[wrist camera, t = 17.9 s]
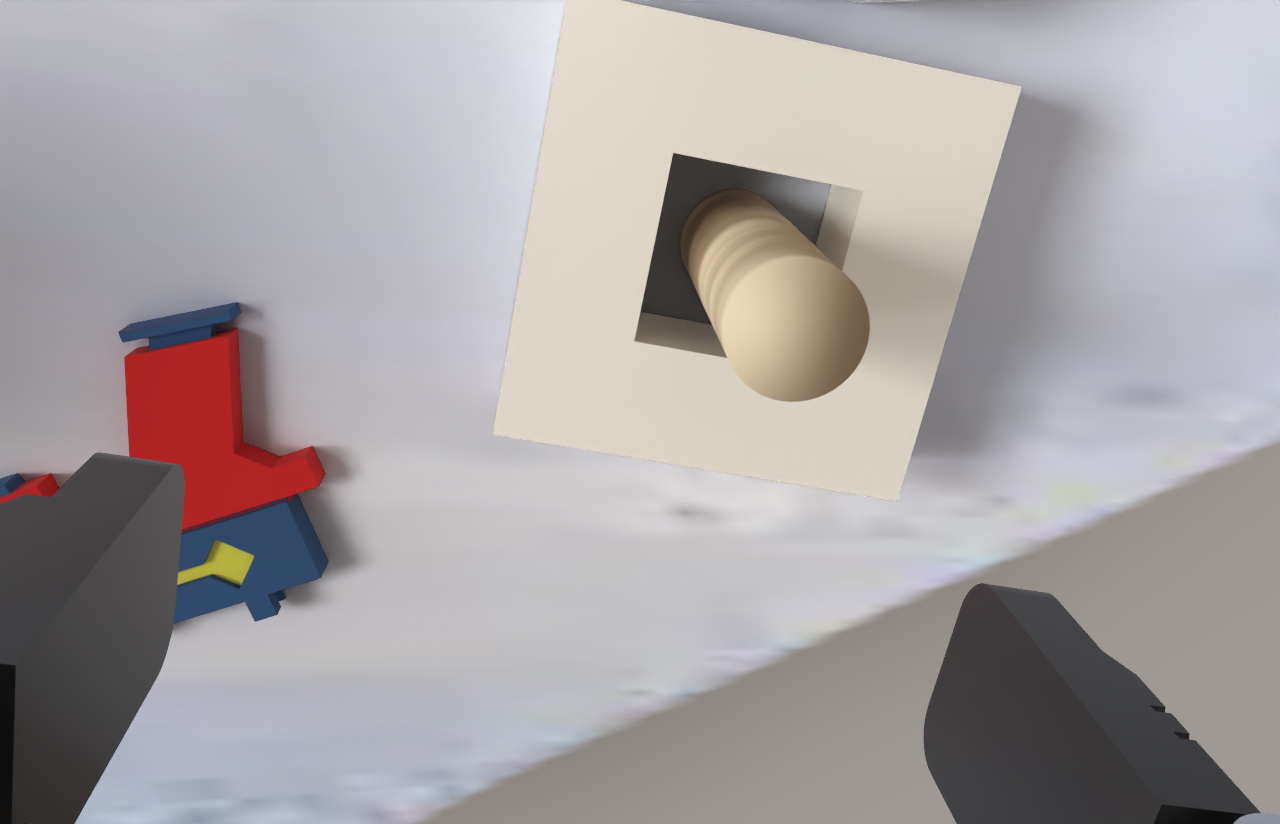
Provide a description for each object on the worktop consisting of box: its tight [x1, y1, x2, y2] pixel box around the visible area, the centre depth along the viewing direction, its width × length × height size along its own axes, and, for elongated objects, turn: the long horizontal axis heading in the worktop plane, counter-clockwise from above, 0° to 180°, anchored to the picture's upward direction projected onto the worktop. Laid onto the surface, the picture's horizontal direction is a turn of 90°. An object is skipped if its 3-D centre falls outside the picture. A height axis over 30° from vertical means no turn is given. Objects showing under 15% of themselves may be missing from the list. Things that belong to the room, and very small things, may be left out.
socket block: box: [493, 0, 1022, 501], centre depth 32 cm, size 12×12×4 cm
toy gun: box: [0, 302, 328, 624], centre depth 35 cm, size 15×2×10 cm
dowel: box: [680, 189, 870, 402], centre depth 29 cm, size 3×3×10 cm
